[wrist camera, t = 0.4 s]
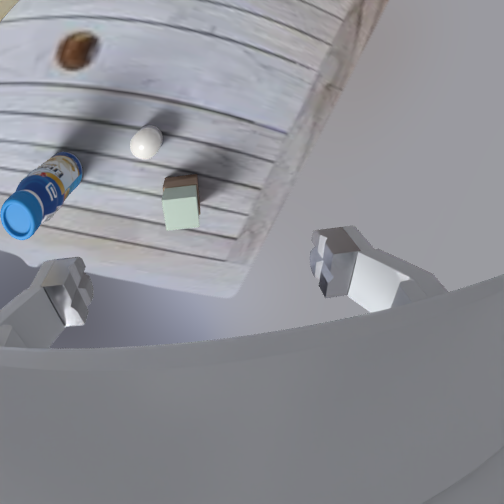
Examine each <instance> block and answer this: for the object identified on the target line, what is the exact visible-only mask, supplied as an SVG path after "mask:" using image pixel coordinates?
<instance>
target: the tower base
mask: <svg viewBox="0 0 504 504" xmlns="http://www.w3.org/2000/svg"><path fill="white" fill-rule="evenodd" d="M191 185H196V190H197V200H198V209H199V215H200V199H199V189H198V179H197V174H193V175H185V176H176V177H168V178H165V181H164V185H163V192H164V189H165V188H173V187H182V186H191Z"/></svg>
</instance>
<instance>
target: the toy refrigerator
mask: <svg viewBox="0 0 504 504" xmlns="http://www.w3.org/2000/svg"><path fill="white" fill-rule="evenodd" d="M18 1H19V0H0V21H1V20H2V19H3V18H4V17H5V15H6V14H7V13H8V12H9V11H10V10H11V9H12V8H13V6H14V5H15V4H16V3H17V2H18Z"/></svg>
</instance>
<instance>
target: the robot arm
mask: <svg viewBox="0 0 504 504" xmlns="http://www.w3.org/2000/svg"><path fill="white" fill-rule="evenodd" d="M312 242H313V244H314V246H315V247H314V248H313V249H312V250H311V252H310V267H311V271H312V273H313V275H314V277H315V278H317V279H319V280H320V281H319V287H320V289H321V291H322V293H323V295H324V297H325V298H331V297H337V296H344V295H348V296H349V297H350V298H351V299H353V300H354V301H355V302H357V303H358V304H360V305H361V306H362V307H364V308H365V309H366V310H368V311H369V312H371V313H367V314H363V315H359V316H355V317H350V318H345V319H340V320H335V321H330V322H325V323H320V324H315V325H310V326H304V327H298V328H292V329H286V330H281V331H274V332H268V333H261V334H254V335H247V336H239V337H232V338H224V339H217V340H207V341H198V342H188V343H177V344H165V345H152V346H137V347H117V348H83V349H82V348H81V349H51V348H49V347H50V346H51V345H52V344H53V342H54V341H55V340H56V338H57V337H58V336H59V335H60V333H61V332H62V331H63V330H64V329H65V326H78V325H85V322H86V319H87V315H88V309H87V306H88V305H89V304H90V303H91V301H92V299H93V285H92V281H91V279H90V277H89V276H88V275H87V274H86V273H84V270H85V267H86V266H85V264H84V262H83V260H82V258H80V257H73V258H64V259H54V260H48V261H45V262H44V263H43V264H42V266H41V268H40V270H39V271H38V273H37V275H36V277H35V278H34V280H33V282H32V284H31V286H30V287H29V289H25V290H24V291H23V292H21V293H20V294H19V295H18V296H17V297H15V298H14V299H13V300H12V301H11V302H9V303H8V304H7V305H6V306H5V307H3V308H2V309H1V310H0V504H504V274H502V275H500V276H497V277H494V278H491V279H489V280H485V281H482V282H480V283H476V284H473V285H470V286H467V287H465V288H461V289H458V290H455V291H451V292H448V291H447V290H446V289H445V288H444V286H443V285H442V284H441V283H440V282H439V281H438V279H437V278H436V277H435V276H434V275H433V274H432V273H430V272H428V271H426V270H423V269H421V268H419V267H417V266H415V265H413V264H411V263H409V262H406V261H404V260H402V259H400V258H397V257H395V256H393V255H391V254H389V253H386V252H384V251H382V250H380V249H374V248H373V246H372V245H371V244H370V243H369V242H368V241H367V239H366V238H365V237H364V236H363V235H362V234H361V232H359V230H358V229H357V228H356V227H355V226H345V227H338V228H330V229H322V230H315V231H313V235H312Z"/></svg>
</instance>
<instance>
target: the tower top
mask: <svg viewBox="0 0 504 504" xmlns="http://www.w3.org/2000/svg"><path fill="white" fill-rule="evenodd" d="M162 206H163V212H164V218H165V224H166V230H167V231H168V230H177V229H186V228H195V227H199V209H198V200H197V190H196V185H191V186H182V187H173V188H165V189H164V192H163V197H162Z"/></svg>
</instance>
